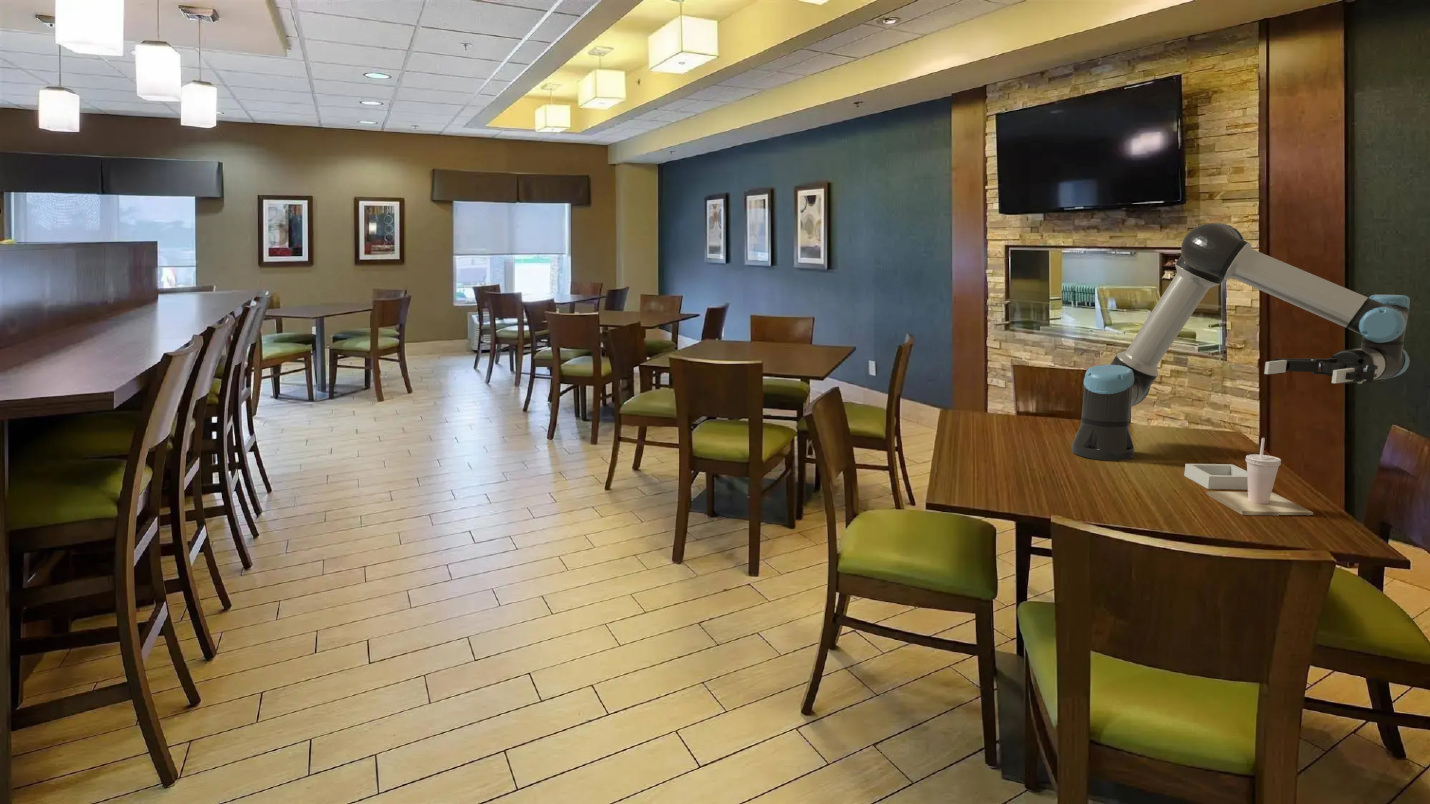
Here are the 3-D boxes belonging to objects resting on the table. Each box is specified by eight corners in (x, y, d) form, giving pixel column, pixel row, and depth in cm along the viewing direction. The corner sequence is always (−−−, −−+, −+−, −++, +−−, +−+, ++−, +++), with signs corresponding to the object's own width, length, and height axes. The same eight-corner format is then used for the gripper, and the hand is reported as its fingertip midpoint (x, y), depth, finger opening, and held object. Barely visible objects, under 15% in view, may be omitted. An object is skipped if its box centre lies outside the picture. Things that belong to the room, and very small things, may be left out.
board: (1242, 514, 169) (1242, 511, 168) (1206, 494, 182) (1207, 491, 182) (1312, 516, 168) (1313, 512, 167) (1271, 495, 181) (1272, 492, 181)
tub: (1207, 488, 187) (1209, 476, 186) (1184, 475, 197) (1185, 463, 197) (1257, 489, 186) (1259, 477, 185) (1231, 476, 197) (1232, 464, 196)
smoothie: (1233, 497, 178) (1240, 435, 175) (1261, 496, 178) (1268, 434, 176) (1255, 506, 171) (1262, 442, 169) (1283, 505, 172) (1291, 441, 169)
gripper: (1418, 390, 173) (1362, 399, 164) (1294, 374, 195) (1239, 380, 186) (1424, 355, 172) (1368, 362, 163) (1298, 343, 194) (1243, 348, 185)
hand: (1299, 372), depth 175 cm, fingers open, 13 cm apart
